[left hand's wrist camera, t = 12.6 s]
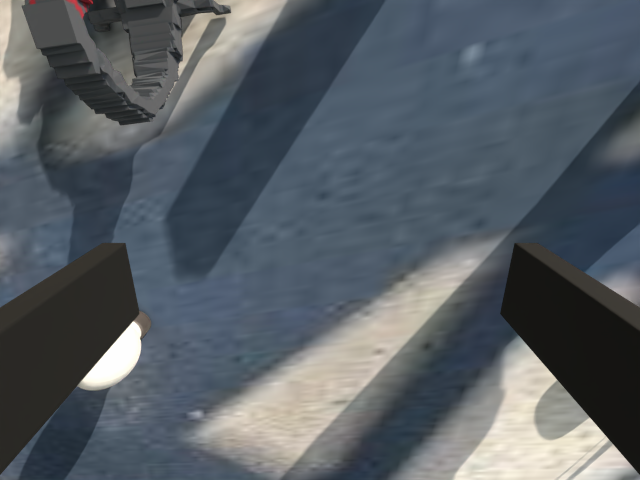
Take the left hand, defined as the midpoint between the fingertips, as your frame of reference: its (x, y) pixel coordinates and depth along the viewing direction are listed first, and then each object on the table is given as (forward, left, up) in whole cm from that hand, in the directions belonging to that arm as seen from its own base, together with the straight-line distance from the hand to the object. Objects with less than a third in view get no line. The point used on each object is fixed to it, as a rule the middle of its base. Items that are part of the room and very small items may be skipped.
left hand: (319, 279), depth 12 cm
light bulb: (+29, +14, -30) cm, 44 cm away
